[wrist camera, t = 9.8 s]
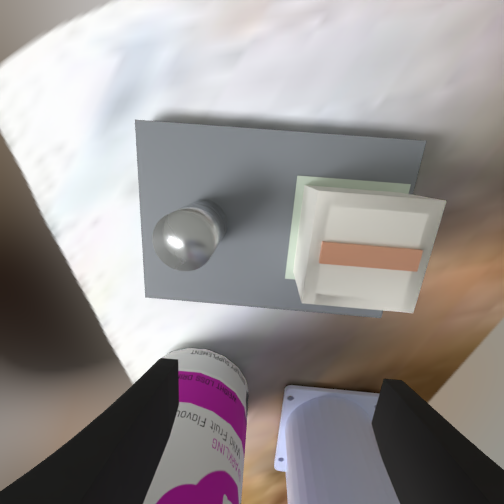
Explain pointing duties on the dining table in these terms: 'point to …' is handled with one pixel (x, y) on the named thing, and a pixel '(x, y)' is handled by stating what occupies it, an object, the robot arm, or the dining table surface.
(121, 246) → the dining table surface
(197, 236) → the post
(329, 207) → the white cube with stripe
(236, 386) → the supplement can
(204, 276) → the board
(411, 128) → the dining table surface
